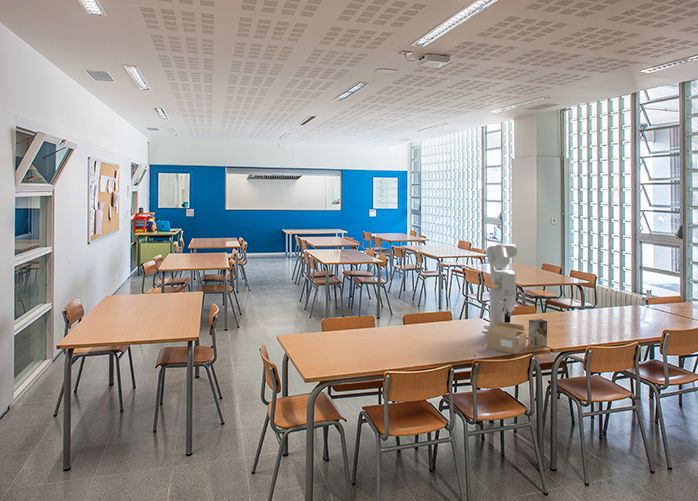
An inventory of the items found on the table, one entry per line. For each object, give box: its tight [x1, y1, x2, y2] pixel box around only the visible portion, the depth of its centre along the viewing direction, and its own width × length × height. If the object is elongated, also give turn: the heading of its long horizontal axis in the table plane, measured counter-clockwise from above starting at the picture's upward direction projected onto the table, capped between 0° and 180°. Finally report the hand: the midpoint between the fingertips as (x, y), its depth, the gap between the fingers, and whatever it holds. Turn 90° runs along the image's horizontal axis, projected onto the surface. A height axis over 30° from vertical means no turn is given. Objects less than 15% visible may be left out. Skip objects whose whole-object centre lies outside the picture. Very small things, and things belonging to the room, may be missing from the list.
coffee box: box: [527, 318, 548, 348], centre depth 310 cm, size 9×6×16 cm
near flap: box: [489, 324, 518, 337], centre depth 298 cm, size 16×5×1 cm
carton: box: [486, 330, 527, 355], centre depth 304 cm, size 19×16×10 cm
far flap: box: [497, 321, 526, 332], centre depth 309 cm, size 16×5×1 cm
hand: (507, 322), depth 303 cm, fingers closed
